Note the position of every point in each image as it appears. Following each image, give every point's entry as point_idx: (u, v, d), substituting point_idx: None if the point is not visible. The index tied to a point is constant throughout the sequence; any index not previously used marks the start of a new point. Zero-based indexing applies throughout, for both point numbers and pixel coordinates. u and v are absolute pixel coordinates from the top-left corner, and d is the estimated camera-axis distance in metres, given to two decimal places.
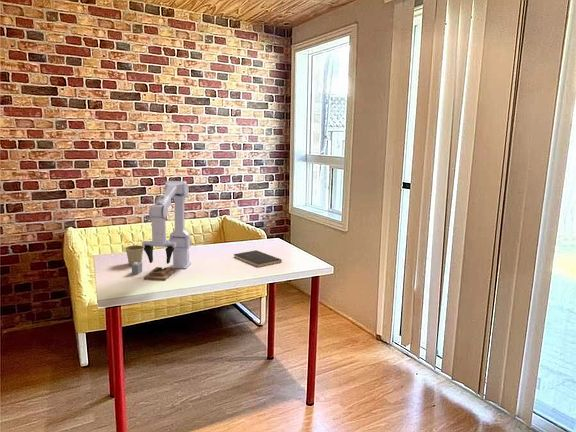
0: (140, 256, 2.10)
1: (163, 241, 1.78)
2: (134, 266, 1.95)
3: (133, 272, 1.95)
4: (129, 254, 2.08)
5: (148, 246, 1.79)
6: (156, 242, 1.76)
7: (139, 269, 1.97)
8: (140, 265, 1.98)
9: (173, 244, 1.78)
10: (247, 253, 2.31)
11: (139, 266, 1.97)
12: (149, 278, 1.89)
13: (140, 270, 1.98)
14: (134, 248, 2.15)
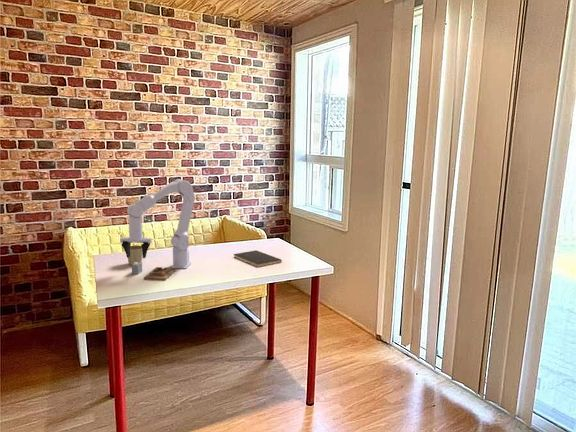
0: (140, 256, 2.10)
1: (139, 237, 1.93)
2: (134, 266, 1.95)
3: (133, 272, 1.95)
4: None
5: (125, 242, 1.95)
6: (133, 238, 1.92)
7: (139, 269, 1.97)
8: (140, 265, 1.98)
9: (148, 240, 1.94)
10: (247, 253, 2.31)
11: (139, 266, 1.97)
12: (149, 278, 1.89)
13: (140, 270, 1.98)
14: (134, 248, 2.15)
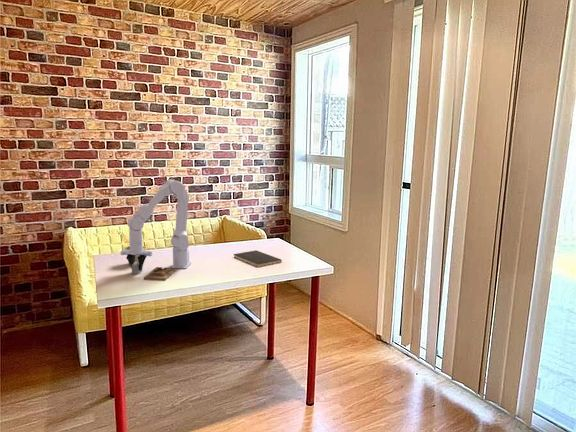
0: None
1: (140, 250, 1.95)
2: (134, 266, 1.95)
3: (133, 272, 1.95)
4: None
5: None
6: (133, 251, 1.93)
7: None
8: None
9: (149, 253, 1.95)
10: (247, 253, 2.31)
11: None
12: (149, 278, 1.89)
13: None
14: None
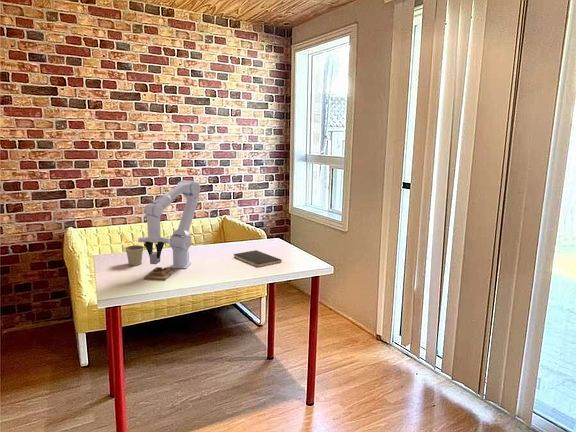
0: (140, 256, 2.10)
1: (158, 237, 1.91)
2: (152, 256, 1.92)
3: (151, 262, 1.93)
4: (129, 254, 2.08)
5: None
6: (151, 238, 1.90)
7: (157, 259, 1.94)
8: None
9: (167, 240, 1.92)
10: (247, 253, 2.31)
11: None
12: (149, 278, 1.89)
13: (158, 260, 1.95)
14: (134, 248, 2.15)
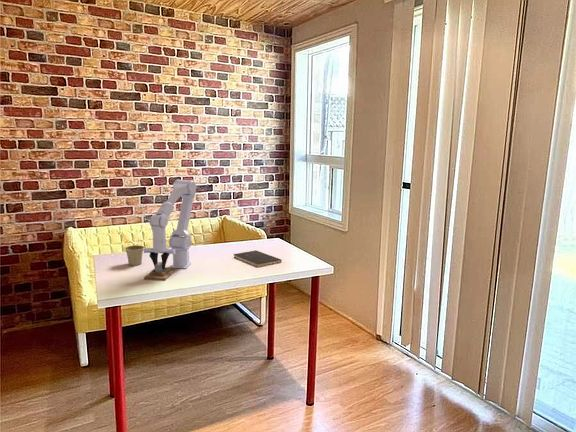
0: (140, 256, 2.10)
1: (163, 248, 1.92)
2: (157, 266, 1.92)
3: None
4: (129, 254, 2.08)
5: None
6: (156, 249, 1.90)
7: (162, 269, 1.94)
8: None
9: (172, 251, 1.92)
10: (247, 253, 2.31)
11: None
12: (149, 278, 1.89)
13: (163, 270, 1.95)
14: (134, 248, 2.15)
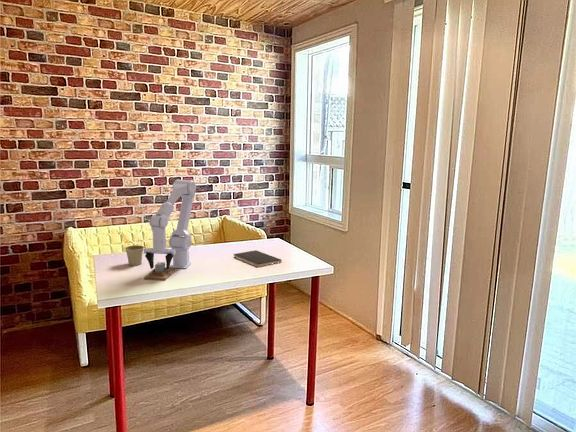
0: (140, 256, 2.10)
1: (163, 249, 1.92)
2: (157, 266, 1.92)
3: None
4: (129, 254, 2.08)
5: (149, 253, 1.93)
6: (157, 250, 1.90)
7: (162, 269, 1.94)
8: (163, 265, 1.95)
9: (172, 251, 1.92)
10: (247, 253, 2.31)
11: (162, 266, 1.94)
12: (149, 278, 1.89)
13: (163, 270, 1.95)
14: (134, 248, 2.15)
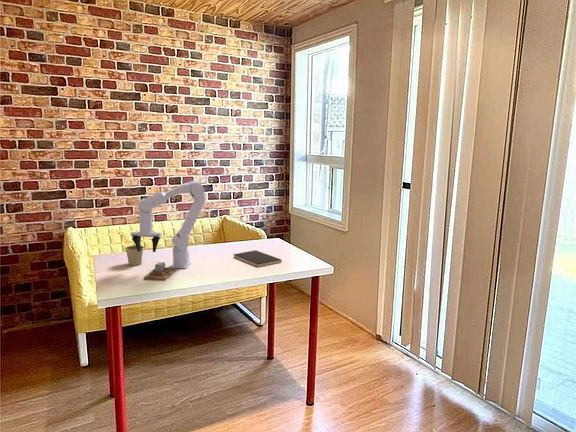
0: (140, 256, 2.10)
1: (149, 232, 1.98)
2: (157, 266, 1.92)
3: None
4: (129, 254, 2.08)
5: (136, 236, 1.99)
6: (143, 233, 1.97)
7: (162, 269, 1.94)
8: (163, 265, 1.95)
9: (158, 234, 1.98)
10: (247, 253, 2.31)
11: (162, 266, 1.94)
12: (149, 278, 1.89)
13: (163, 270, 1.95)
14: (134, 248, 2.15)
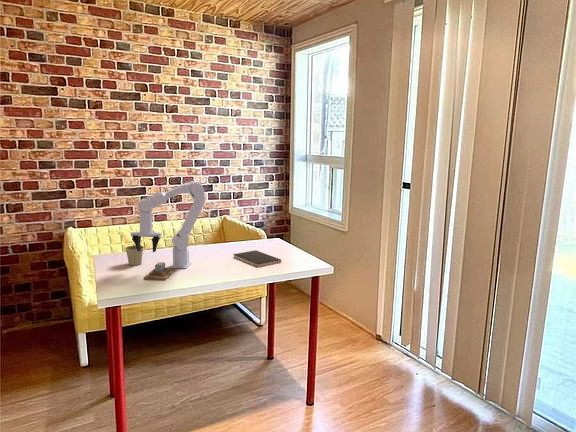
0: (140, 256, 2.10)
1: (149, 232, 1.98)
2: (157, 266, 1.92)
3: None
4: (129, 254, 2.08)
5: (136, 236, 1.99)
6: (143, 233, 1.97)
7: (162, 269, 1.94)
8: (163, 265, 1.95)
9: (158, 234, 1.98)
10: (247, 253, 2.31)
11: (162, 266, 1.94)
12: (149, 278, 1.89)
13: (163, 270, 1.95)
14: (134, 248, 2.15)
